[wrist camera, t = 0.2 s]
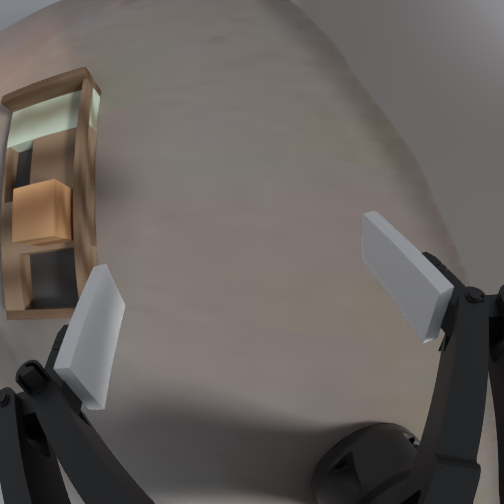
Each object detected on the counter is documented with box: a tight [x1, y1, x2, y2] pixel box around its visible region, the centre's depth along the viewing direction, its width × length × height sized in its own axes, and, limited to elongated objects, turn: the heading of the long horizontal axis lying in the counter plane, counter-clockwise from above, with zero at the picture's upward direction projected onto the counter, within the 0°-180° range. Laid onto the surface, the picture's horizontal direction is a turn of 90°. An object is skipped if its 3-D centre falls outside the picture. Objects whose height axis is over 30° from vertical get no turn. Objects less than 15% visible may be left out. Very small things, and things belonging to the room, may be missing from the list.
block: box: [12, 179, 74, 246], centre depth 25 cm, size 5×5×5 cm
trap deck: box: [1, 67, 101, 320], centre depth 27 cm, size 26×12×6 cm, turn 6°
